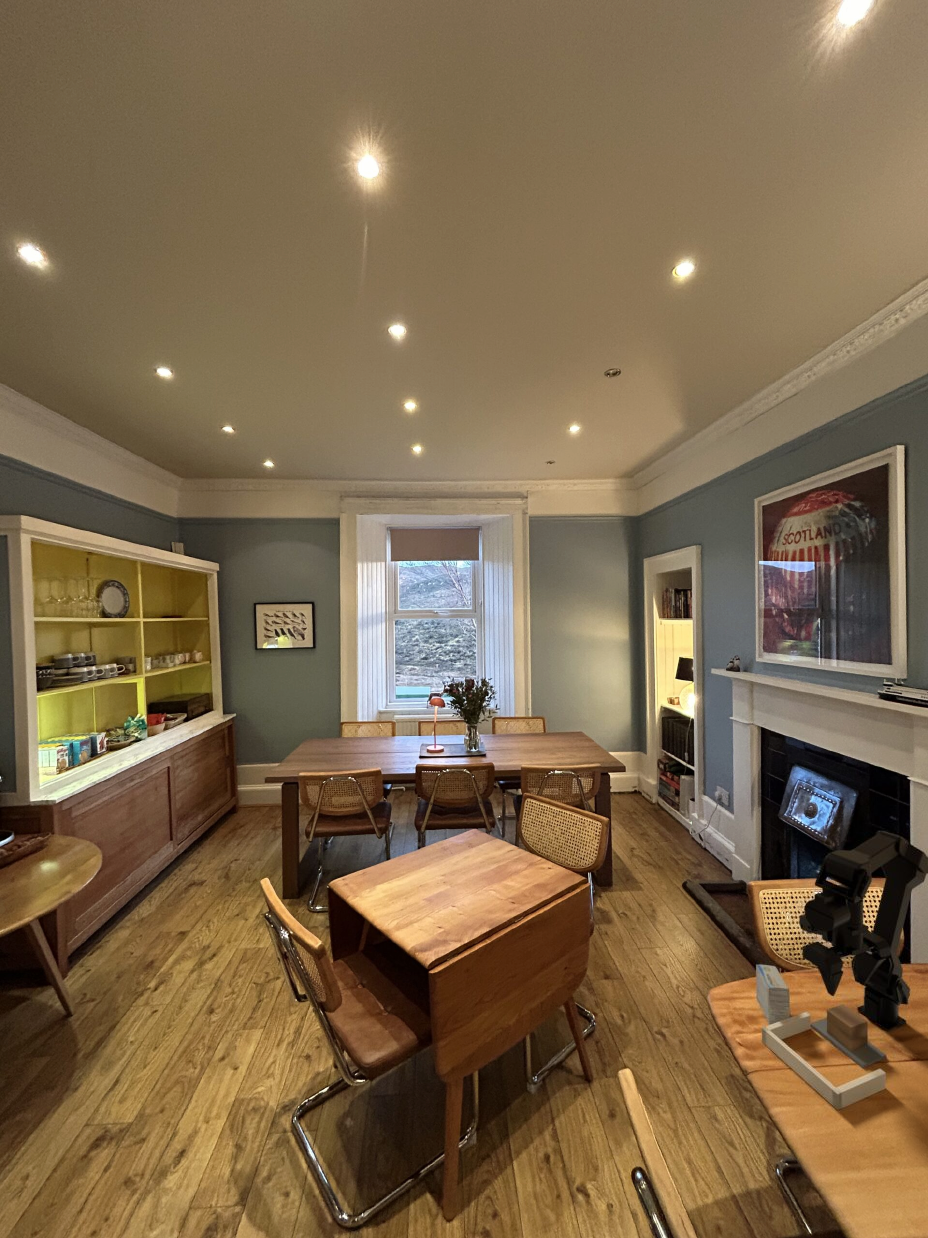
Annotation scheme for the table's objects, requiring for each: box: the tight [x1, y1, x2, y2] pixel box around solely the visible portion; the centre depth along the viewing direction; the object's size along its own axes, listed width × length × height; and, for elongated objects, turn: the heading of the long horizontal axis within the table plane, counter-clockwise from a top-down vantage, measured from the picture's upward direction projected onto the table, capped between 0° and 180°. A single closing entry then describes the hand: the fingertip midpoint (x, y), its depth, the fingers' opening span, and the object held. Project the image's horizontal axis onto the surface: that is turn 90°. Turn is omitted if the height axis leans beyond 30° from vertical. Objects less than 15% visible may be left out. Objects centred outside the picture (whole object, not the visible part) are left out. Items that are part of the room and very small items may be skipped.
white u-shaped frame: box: [761, 1011, 887, 1111], centre depth 104 cm, size 13×16×3 cm
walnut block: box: [826, 1003, 869, 1051], centre depth 109 cm, size 5×5×5 cm
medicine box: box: [755, 964, 791, 1025], centre depth 117 cm, size 8×4×9 cm, turn 168°
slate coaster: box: [811, 1017, 887, 1069], centre depth 109 cm, size 7×11×1 cm, turn 19°
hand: (846, 989), depth 109 cm, fingers open, 9 cm apart
